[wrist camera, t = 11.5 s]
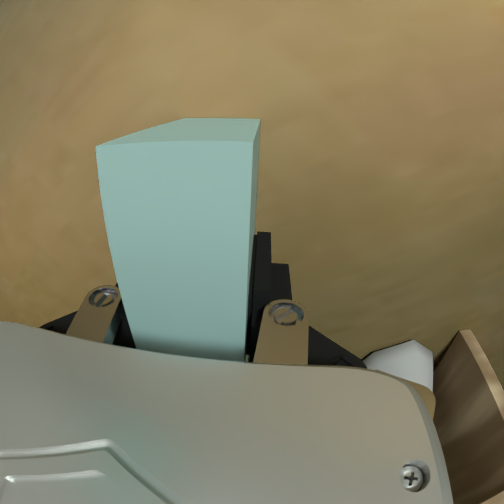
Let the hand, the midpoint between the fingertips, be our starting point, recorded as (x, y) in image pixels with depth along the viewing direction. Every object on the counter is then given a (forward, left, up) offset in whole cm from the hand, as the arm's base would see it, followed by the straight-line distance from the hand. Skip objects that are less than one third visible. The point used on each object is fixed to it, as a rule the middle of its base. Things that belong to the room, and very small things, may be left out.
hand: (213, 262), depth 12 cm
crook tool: (-3, +5, -2) cm, 7 cm away
